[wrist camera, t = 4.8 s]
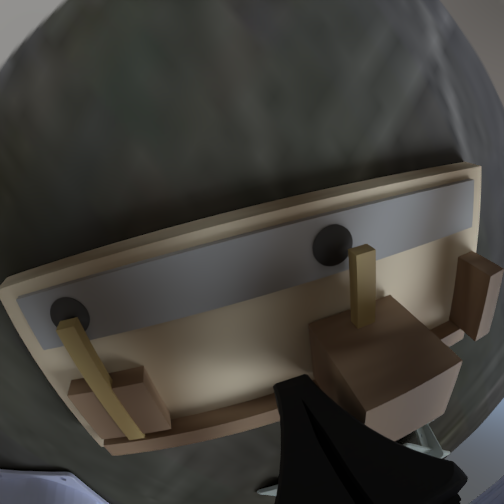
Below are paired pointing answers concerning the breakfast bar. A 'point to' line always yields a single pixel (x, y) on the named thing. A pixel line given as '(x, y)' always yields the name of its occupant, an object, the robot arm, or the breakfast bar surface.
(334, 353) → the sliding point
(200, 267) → the gauge board
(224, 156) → the breakfast bar surface
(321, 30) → the breakfast bar surface
